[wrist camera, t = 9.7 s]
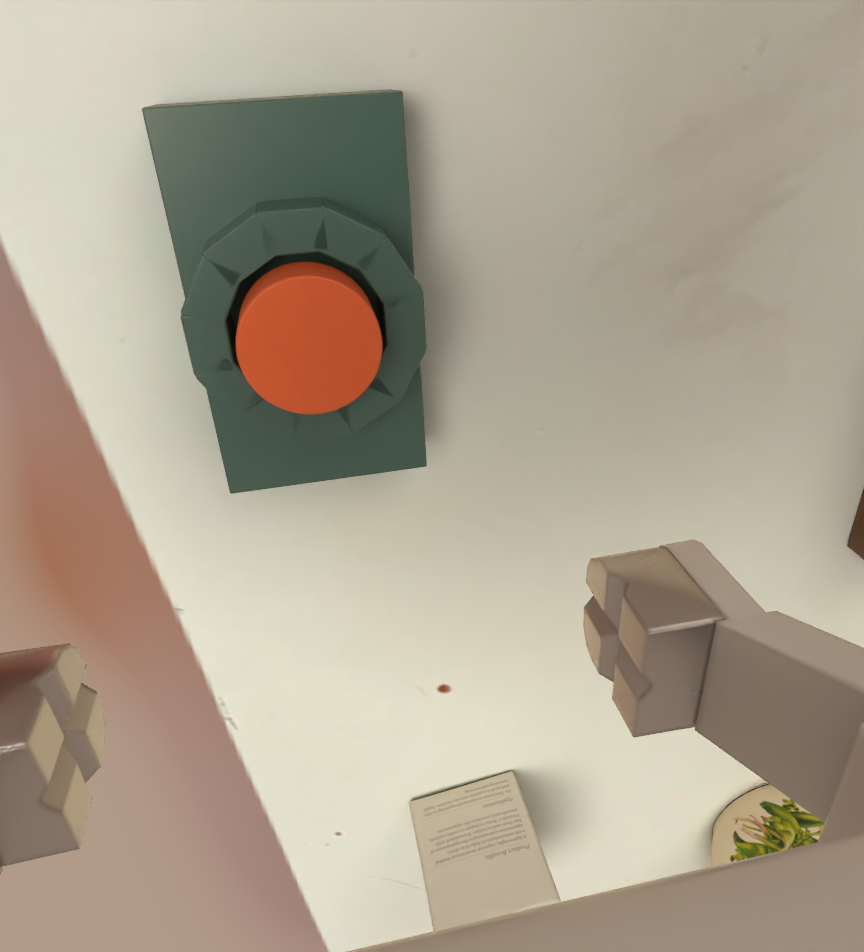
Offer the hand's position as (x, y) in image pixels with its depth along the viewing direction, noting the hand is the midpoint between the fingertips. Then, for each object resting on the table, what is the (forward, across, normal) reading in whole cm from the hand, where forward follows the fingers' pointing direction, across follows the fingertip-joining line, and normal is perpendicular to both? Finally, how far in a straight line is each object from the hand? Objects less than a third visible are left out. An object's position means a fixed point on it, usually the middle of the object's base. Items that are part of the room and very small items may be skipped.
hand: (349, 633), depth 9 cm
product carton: (+17, -5, +30) cm, 35 cm away
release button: (+13, 0, 0) cm, 13 cm away
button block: (+17, 0, 0) cm, 17 cm away
